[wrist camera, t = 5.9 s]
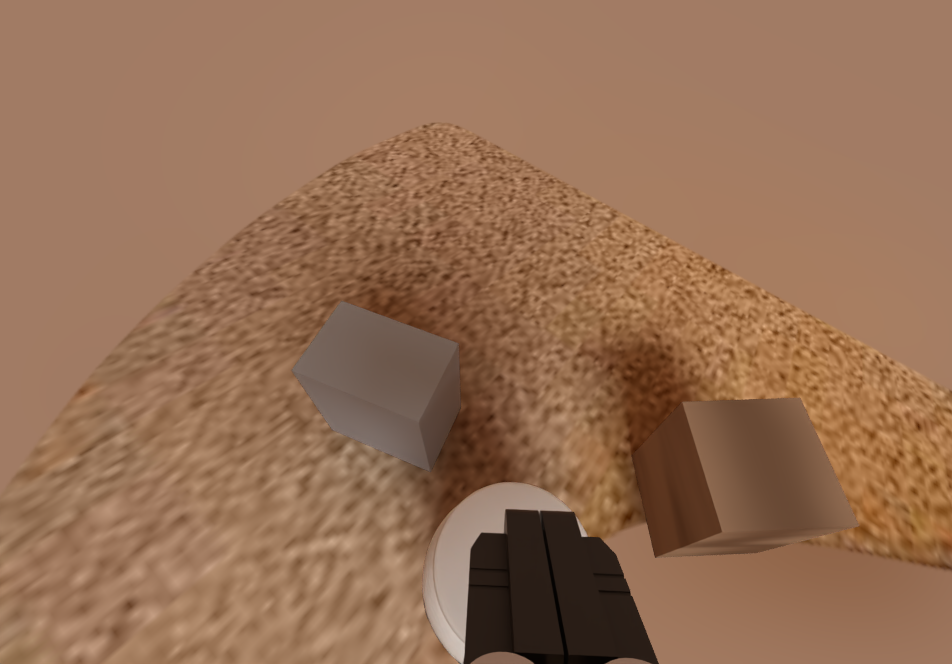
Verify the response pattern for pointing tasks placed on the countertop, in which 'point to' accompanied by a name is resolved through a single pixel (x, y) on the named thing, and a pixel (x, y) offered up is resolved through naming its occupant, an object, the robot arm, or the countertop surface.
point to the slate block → (383, 383)
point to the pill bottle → (452, 553)
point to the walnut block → (737, 479)
